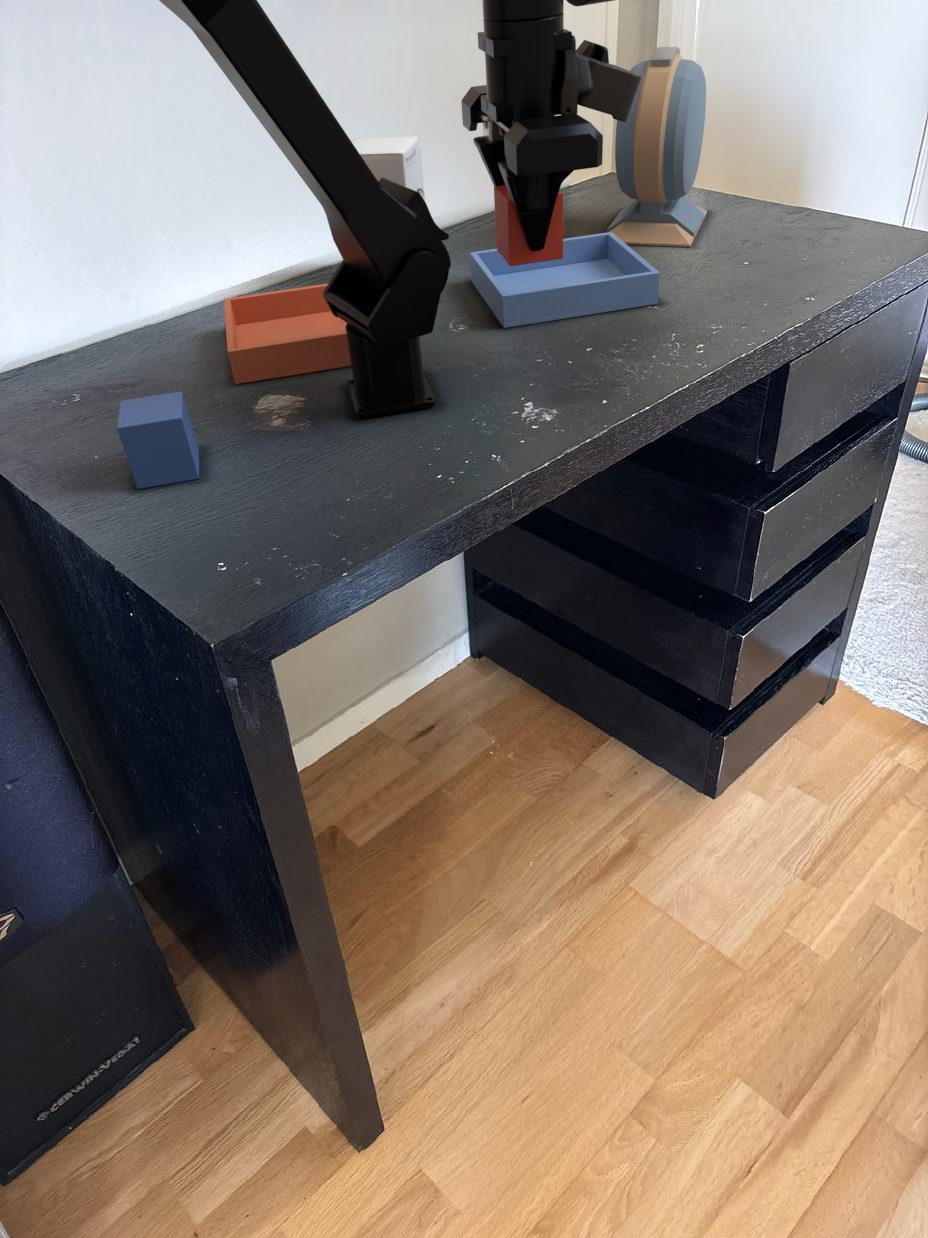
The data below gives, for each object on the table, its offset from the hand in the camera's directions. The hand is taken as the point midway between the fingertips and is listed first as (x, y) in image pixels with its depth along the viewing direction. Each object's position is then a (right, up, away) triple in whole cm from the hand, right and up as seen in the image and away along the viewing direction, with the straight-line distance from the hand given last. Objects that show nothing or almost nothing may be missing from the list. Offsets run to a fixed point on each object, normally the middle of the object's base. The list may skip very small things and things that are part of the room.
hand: (528, 241), depth 76 cm
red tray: (-19, -5, +11) cm, 23 cm away
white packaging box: (-13, +7, +25) cm, 29 cm away
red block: (0, -1, +1) cm, 1 cm away
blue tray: (+4, +2, +17) cm, 17 cm away
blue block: (-28, -20, -6) cm, 34 cm away
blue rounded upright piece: (+17, +14, +30) cm, 37 cm away
